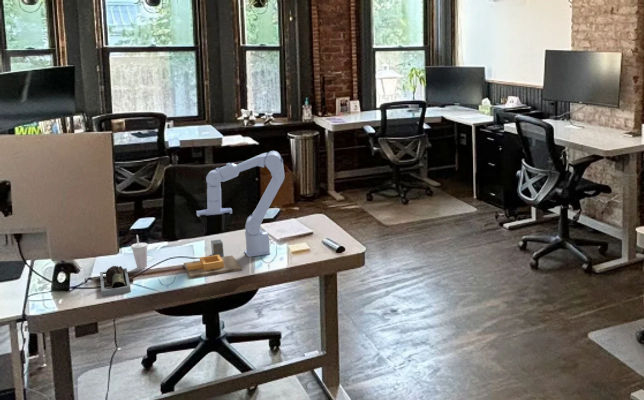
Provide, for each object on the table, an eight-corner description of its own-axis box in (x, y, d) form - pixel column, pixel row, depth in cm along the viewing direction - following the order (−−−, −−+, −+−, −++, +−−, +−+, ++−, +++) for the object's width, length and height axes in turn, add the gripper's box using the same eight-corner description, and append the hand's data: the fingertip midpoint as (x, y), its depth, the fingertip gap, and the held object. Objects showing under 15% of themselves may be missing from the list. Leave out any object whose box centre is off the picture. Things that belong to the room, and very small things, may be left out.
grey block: (221, 252, 271) (220, 239, 269) (223, 256, 266) (222, 242, 265) (212, 254, 270) (210, 240, 268) (214, 257, 265) (212, 244, 264)
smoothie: (130, 269, 255) (126, 236, 252) (140, 264, 261) (136, 231, 258) (144, 271, 253) (139, 237, 250) (153, 265, 259) (149, 232, 255)
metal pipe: (126, 291, 234) (124, 277, 232) (107, 294, 232) (105, 280, 231) (125, 275, 250) (123, 261, 249) (107, 277, 248) (105, 264, 247)
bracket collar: (219, 260, 259) (219, 254, 258) (223, 267, 251) (223, 261, 250) (186, 265, 254) (185, 259, 254) (189, 272, 246) (189, 266, 246)
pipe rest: (127, 273, 252) (126, 268, 251) (130, 291, 233) (130, 286, 232) (100, 277, 249) (99, 272, 248) (102, 296, 229) (101, 291, 229)
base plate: (232, 257, 264) (232, 255, 264) (241, 270, 249) (241, 267, 249) (183, 265, 258) (183, 263, 257) (190, 278, 243) (189, 276, 243)
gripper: (228, 196, 268) (229, 227, 271) (194, 198, 262) (195, 230, 266) (233, 200, 262) (233, 231, 265) (198, 202, 256) (199, 235, 259)
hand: (214, 231), depth 265 cm, fingers open, 7 cm apart
